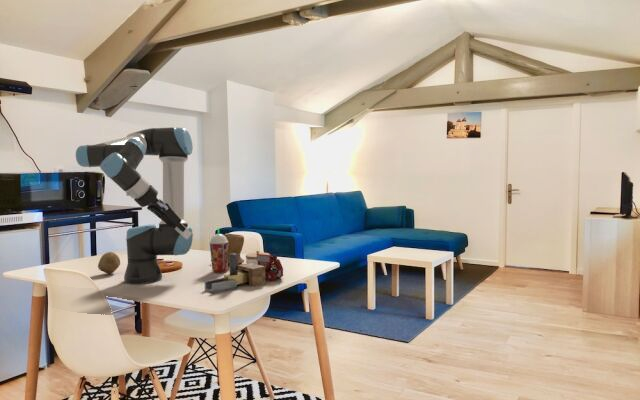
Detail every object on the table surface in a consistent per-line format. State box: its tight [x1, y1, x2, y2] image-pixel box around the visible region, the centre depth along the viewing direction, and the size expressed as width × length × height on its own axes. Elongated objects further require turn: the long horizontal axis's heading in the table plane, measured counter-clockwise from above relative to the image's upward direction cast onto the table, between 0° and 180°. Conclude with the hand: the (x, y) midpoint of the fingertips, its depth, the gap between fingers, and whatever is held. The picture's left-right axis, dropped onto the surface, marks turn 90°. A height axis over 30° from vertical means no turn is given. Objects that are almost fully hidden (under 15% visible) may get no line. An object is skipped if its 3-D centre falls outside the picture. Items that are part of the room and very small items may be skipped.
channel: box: [204, 277, 238, 294], centre depth 178 cm, size 7×10×4 cm, turn 132°
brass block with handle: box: [223, 253, 249, 285], centre depth 183 cm, size 4×13×12 cm, turn 131°
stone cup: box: [223, 233, 245, 265], centre depth 228 cm, size 15×12×15 cm
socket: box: [238, 263, 267, 287], centre depth 187 cm, size 11×6×7 cm, turn 42°
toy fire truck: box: [257, 254, 284, 282], centre depth 193 cm, size 7×12×10 cm, turn 60°
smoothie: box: [209, 227, 229, 274], centre depth 210 cm, size 8×8×20 cm
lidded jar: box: [245, 250, 271, 265], centre depth 208 cm, size 11×11×9 cm
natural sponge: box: [97, 251, 121, 274], centre depth 211 cm, size 9×9×10 cm
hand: (188, 236), depth 169 cm, fingers closed
